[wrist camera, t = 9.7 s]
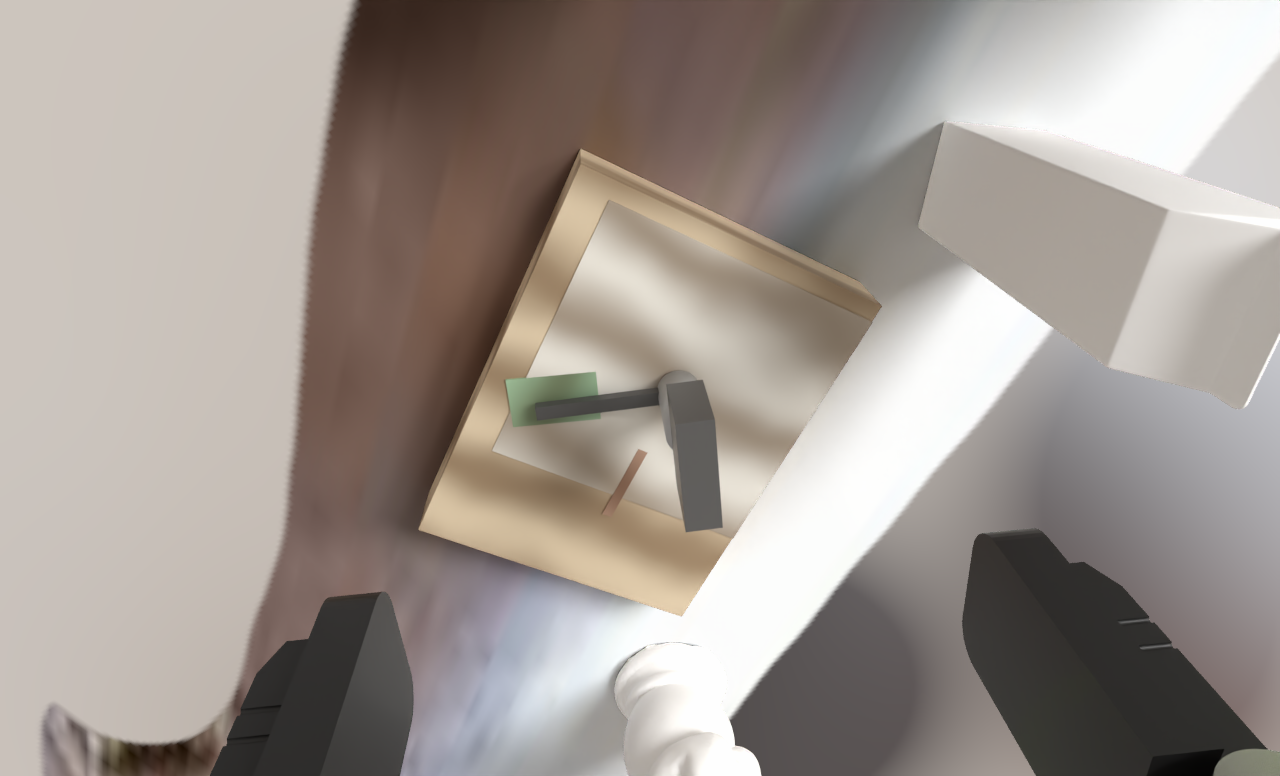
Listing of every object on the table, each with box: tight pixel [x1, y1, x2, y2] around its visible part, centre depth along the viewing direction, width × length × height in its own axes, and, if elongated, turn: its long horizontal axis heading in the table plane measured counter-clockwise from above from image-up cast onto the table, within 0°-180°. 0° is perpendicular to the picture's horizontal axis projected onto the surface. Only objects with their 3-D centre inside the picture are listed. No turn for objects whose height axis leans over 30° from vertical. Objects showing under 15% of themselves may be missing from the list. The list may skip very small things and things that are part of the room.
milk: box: [918, 121, 1280, 409], centre depth 36 cm, size 6×6×22 cm
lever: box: [535, 370, 723, 532], centre depth 42 cm, size 9×6×9 cm, turn 96°
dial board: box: [418, 149, 882, 616], centre depth 48 cm, size 24×18×4 cm
